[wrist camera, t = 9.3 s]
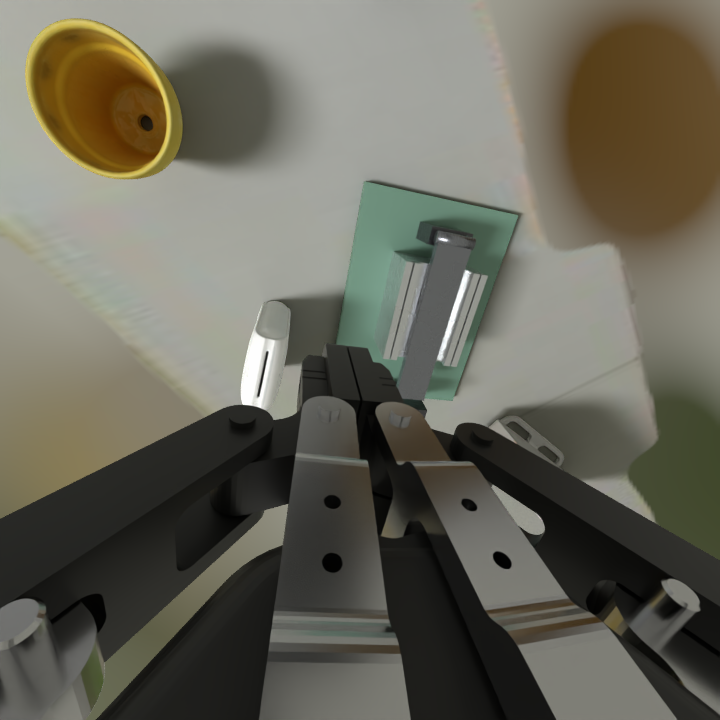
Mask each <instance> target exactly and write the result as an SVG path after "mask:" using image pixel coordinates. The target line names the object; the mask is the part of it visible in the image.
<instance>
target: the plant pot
mask: <svg viewBox="0 0 720 720" xmlns="http://www.w3.org/2000/svg"><path fill="white" fill-rule="evenodd" d="M25 77H26V87H27V92H28V96H29V100H30V103H31V106H32V108H33V111H34V113H35V115H36V117H37V119H38V121H39V123H40V125H41V126H42V128H43V130H44V131H45V132H46V134H47V135H48V137H49V138H50V139H51V140H52V142H53V143H54V144H55V145H56V146H57V147H58V148H59V149H60V150H61V151H62V152H63V153H64V154H65V155H66V156H67V157H69V158H70V159H71V160H72V161H74V162H75V163H77V164H78V165H80V166H81V167H83V168H85V169H87V170H89V171H91V172H93V173H96V174H98V175H101V176H105V177H108V178H114V179H139V178H145V177H149V176H152V175H154V174H157V173H159V172H160V171H162V170H163V169H165V168H166V167H167V166H168V165H169V164H170V163H171V162H172V161H173V159H174V158H175V156H176V154H177V152H178V150H179V147H180V144H181V140H182V131H183V122H182V114H181V109H180V105H179V102H178V99H177V96H176V94H175V91H174V89H173V87H172V85H171V84H170V82H169V80H168V78H167V77H166V75H165V74H164V73H163V71H162V70H161V69H160V67H159V66H158V65H157V64H156V63H155V62H154V61H153V60H152V58H151V57H150V56H149V55H148V54H146V53H145V52H144V51H143V50H142V49H141V48H140V47H139V46H138V45H136V44H135V43H134V42H133V41H131V40H130V39H129V38H127V37H126V36H125V35H123V34H122V33H120V32H119V31H117V30H115V29H113V28H111V27H109V26H107V25H105V24H102V23H99V22H96V21H93V20H88V19H65V20H61V21H57V22H55V23H53V24H51V25H49V26H48V27H46V28H45V29H44V30H42V31H41V32H40V33H39V34H38V36H37V37H36V38H35V40H34V41H33V43H32V45H31V47H30V49H29V52H28V56H27V60H26V69H25ZM144 116H148V117H149V118H150V119H151V120H152V123H153V128H152V130H150V131H147V130H145V129H144V128H143V127H142V126H141V119H142V117H144Z"/></svg>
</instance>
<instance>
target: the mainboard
mask: <svg viewBox="0 0 720 720" xmlns="http://www.w3.org/2000/svg"><path fill="white" fill-rule="evenodd" d="M517 218H518V215H515V214H510V213H505V212H501V211H496V210H492V209H487V208H483V207H478V206H474V205H469V204H465V203H460V202H456V201H451V200H447V199H442V198H438V197H433V196H429V195H424V194H419V193H415V192H410V191H406V190H401V189H397V188H392V187H388V186H383V185H379V184H374V183H370V182H364V185H363V190H362V196H361V202H360V207H359V213H358V219H357V224H356V230H355V236H354V241H353V247H352V253H351V259H350V264H349V270H348V276H347V281H346V287H345V293H344V298H343V304H342V310H341V315H340V321H339V327H338V332H337V338H336V344H337V345H346V346H355V347H363V348H368V350H369V352H370V355H371V358H372V360H373V362H377V363H381V364H383V365H384V366H385V367H386V368H387V369H388V370H390V373H391V375H392V377H393V380H394V381H397V380H398V377H399V373H400V369H401V366H402V362H403V358H404V357H397V360H391V359H390V358H389V359H383V358H382V356H381V353H380V351H379V349H378V347H377V345H376V342H375V340H374V334H375V330H376V325H377V321H378V317H379V312H380V308H381V303H382V299H383V294H384V290H385V285H386V281H387V276H388V272H389V268H390V263H391V259H392V254H393V251H395V252H400V253H406V254H411V255H417V256H422V257H428V258H431V255H432V251H433V248H434V245H428V244H426V243H424V242H422V241H420V240H418V239H416V236H417V232H418V228H419V224H420V222H425V223H430V224H434V225H439V226H444V227H449V228H454V229H458V230H462V231H465V232H468V233H471V234H473V238H476V245H475V248H474V249H473V250H472V251H471V253H470V256H469V259H468V262H467V265H468V266H470V267H472V268H474V269H476V270H478V271H479V272H481V273H483V274H485V275H487V276H488V278H487V280H486V283H485V286H484V289H483V292H482V295H481V298H480V301H479V304H478V306H477V309H476V312H475V315H474V318H473V321H472V324H471V327H470V330H469V332H468V335H467V338H466V341H465V344H464V347H463V350H462V353H461V356H460V359H459V361H458V364H457V367H452V366H444V365H443V364H442V363H441V361H436V363H435V366H434V370H433V373H432V376H431V379H430V382H429V385H428V389H427V392H426V395H425V398H427V399H438V400H449V401H453V398H454V395H455V392H456V389H457V386H458V384H459V381H460V378H461V375H462V372H463V370H464V367H465V364H466V361H467V358H468V356H469V353H470V350H471V347H472V344H473V342H474V339H475V336H476V333H477V330H478V328H479V325H480V322H481V319H482V316H483V314H484V311H485V308H486V305H487V302H488V299H489V297H490V294H491V291H492V288H493V285H494V283H495V280H496V277H497V274H498V271H499V269H500V266H501V263H502V260H503V257H504V255H505V252H506V249H507V246H508V243H509V241H510V238H511V235H512V232H513V229H514V226H515V224H516V221H517Z"/></svg>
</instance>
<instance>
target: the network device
mask: <svg viewBox="0 0 720 720" xmlns="http://www.w3.org/2000/svg"><path fill="white" fill-rule="evenodd" d="M510 422H517V423H518V424H519V425H520V426H522V427H523V428H524V429H525V430H526V431H528V432H529V433H530V435H529V437H528V439H526V440H524V439H523V438H522V437H520V436H519V435H518V434H517V433H515V432H514V431H513V430H512V429H510V428H509V427H508V426H507V424H508V423H510ZM488 428H490V429H492V430H494V431H495V432H497V433H499V434H501V435H502V436H504V437H506V438H507V439H509V440H511V441H513V442H514V443H516V444H518V445H520V446H521V447H523V448H525V449H527V450H528V451H530V452H532V453H534V454H535V455H537V456H539V457H541V458H542V459H544V460H546V461H548V462H549V463H551V464H553V465H554V466H556V467H558V468H560V466H561V465H562V463H563V461H564V455H563V453H562V452H561V451H560V450H559V449H558V448H556V447H555V446H554V445H553V444H552V443H550V442H549V441H548V440H547V439H545V438H544V437H543V436H542V435H541V434H539V433H538V432H537V431H536V430H535V429H533V428H532V427H531V426H530V425H528V424H527V423H526V422H525V421H524V420H522V419H521V418H520V417H518V416H507V417H504V418H502V419H501V420H499V419H497V420H496V421H495V422H494V423H493V424H492V425H491V426H489V427H488ZM541 446H546V447H548V448H549V449H550V450H551V451H552V452H554V453H555V454H556V455H557V456H558V458H557V460H556V461H555V462H554V463H553V462H552V461H551V460H550V459H548V458H547V457H546V456H545V455H543V454H542V453H541V452H540V451H538V448H539V447H541ZM560 469H561V468H560ZM561 470H562V469H561ZM563 471H564V470H563ZM536 514H537V513H536ZM537 516H538V517H539V518H540V516H539V515H538V514H537ZM540 519H541V518H540ZM541 520H542V519H541Z"/></svg>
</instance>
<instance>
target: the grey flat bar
mask: <svg viewBox="0 0 720 720" xmlns="http://www.w3.org/2000/svg"><path fill="white" fill-rule="evenodd" d="M475 245H476V238H473V237H468V236H463V235H458V234H453V233H448V232H443V231H436V233H435V235H434V248H433V251H432V255H431V259H430V263H429V266H428V270H427V274H426V277H425V281H424V285H423V288H422V292H421V296H420V299H419V303H418V307H417V310H416V314H415V318H414V321H413V325H412V329H411V333H410V336H409V340H408V344H407V347H406V351H405V355H404V358H403V362H402V366H401V369H400V373H399V377H398V380H397V384H396V387H397V388H398V390H399V392H400V394H401V397H402V399H413V400H424V398H425V395H426V392H427V389H428V385H429V382H430V379H431V376H432V373H433V370H434V366H435V363H436V360H437V357H438V354H439V351H440V347H441V344H442V341H443V338H444V335H445V332H446V329H447V325H448V322H449V319H450V316H451V313H452V310H453V306H454V303H455V300H456V297H457V294H458V291H459V287H460V284H461V281H462V278H463V275H464V272H465V268H466V265H467V262H468V259H469V256H470V253H471V251H472V250H473V249H474V248H475Z"/></svg>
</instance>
